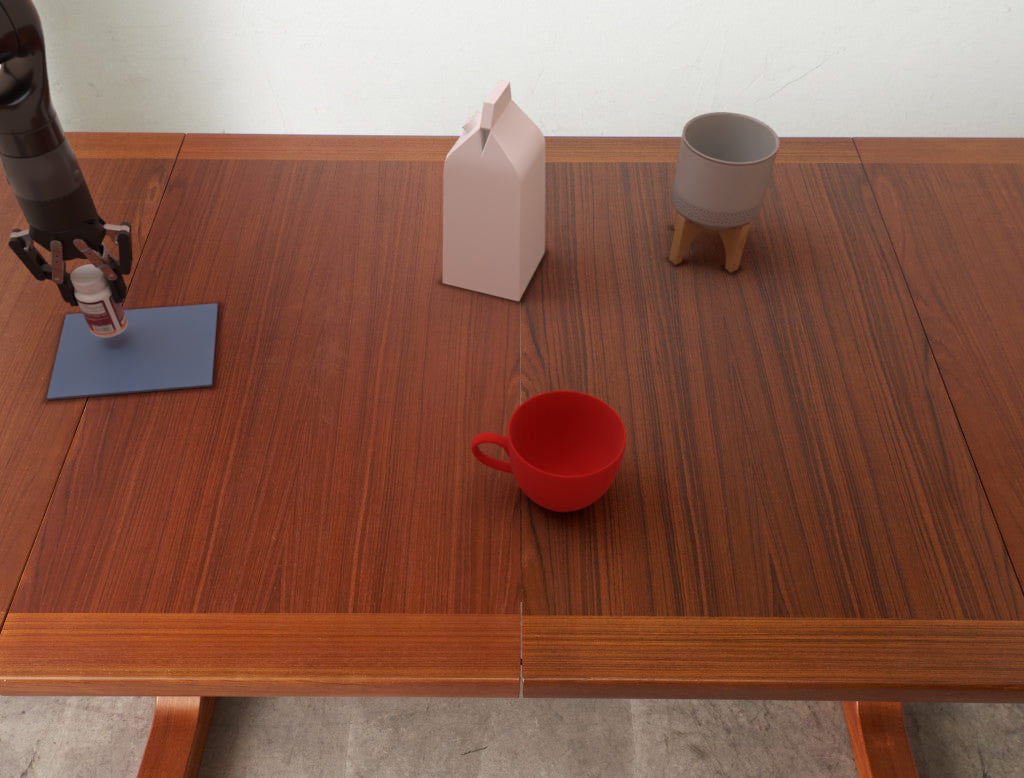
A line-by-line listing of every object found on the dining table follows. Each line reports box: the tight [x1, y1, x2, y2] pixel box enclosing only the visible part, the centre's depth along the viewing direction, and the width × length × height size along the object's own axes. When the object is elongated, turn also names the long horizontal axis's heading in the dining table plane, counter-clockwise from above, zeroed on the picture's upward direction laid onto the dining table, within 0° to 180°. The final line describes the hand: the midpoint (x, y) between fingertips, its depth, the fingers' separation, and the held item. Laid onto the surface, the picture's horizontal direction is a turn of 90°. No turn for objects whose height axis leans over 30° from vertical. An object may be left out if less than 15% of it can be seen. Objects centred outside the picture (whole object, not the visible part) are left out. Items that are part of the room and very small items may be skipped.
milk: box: [442, 79, 547, 302], centre depth 120 cm, size 12×12×26 cm
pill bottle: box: [70, 263, 128, 338], centre depth 113 cm, size 5×5×8 cm
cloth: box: [46, 302, 219, 401], centre depth 118 cm, size 20×16×1 cm
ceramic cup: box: [470, 389, 627, 513], centre depth 101 cm, size 13×17×10 cm
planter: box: [668, 111, 780, 273], centre depth 128 cm, size 13×13×18 cm
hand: (97, 300), depth 113 cm, fingers closed on pill bottle, 4 cm apart
